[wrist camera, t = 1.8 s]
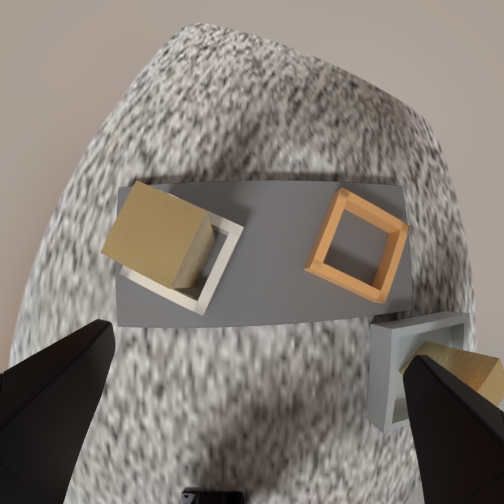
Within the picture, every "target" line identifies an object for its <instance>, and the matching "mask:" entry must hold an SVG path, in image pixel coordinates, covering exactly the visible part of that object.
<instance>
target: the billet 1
mask: <svg viewBox="0 0 504 504" xmlns="http://www.w3.org/2000/svg"><path fill="white" fill-rule="evenodd" d="M215 243H216V239H215V236H214V233H213V230H212V227H211V223H210V220H209V217H208V214H207V211H205V210H203V209H200V208H198V207H196V206H194V205H191V204H189V203H187V202H185V201H182V200H180V199H178V198H176V197H173V196H171V195H169V194H167V193H164V192H162V191H160V190H158V189H155V188H153V187H151V186H149V185H146V184H144V183H142V182H139V181H137V180H136V182H135V184H134V186H133V187H132V189H131V191H130V193H129V195H128V197H127V199H126V201H125V203H124V205H123V207H122V209H121V211H120V213H119V215H118V217H117V219H116V221H115V223H114V225H113V227H112V229H111V231H110V233H109V236H108V238H107V240H106V242H105V244H104V247H103V249H102V251H101V253H102V254H104V255H106V256H108V257H110V258H111V259H113V260H115V261H117V262H119V263H120V264H122V265H124V266H126V267H128V268H130V269H132V270H134V271H135V272H137V273H139V274H141V275H143V276H145V277H147V278H149V279H151V280H153V281H155V282H157V283H159V284H161V285H163V286H165V287H167V288H169V289H177V288H187V287H195V286H196V284H197V282H198V280H199V277H200V275H201V273H202V271H203V269H204V267H205V264H206V262H207V260H208V258H209V256H210V254H211V252H212V249H213V247H214V245H215Z"/></svg>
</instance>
